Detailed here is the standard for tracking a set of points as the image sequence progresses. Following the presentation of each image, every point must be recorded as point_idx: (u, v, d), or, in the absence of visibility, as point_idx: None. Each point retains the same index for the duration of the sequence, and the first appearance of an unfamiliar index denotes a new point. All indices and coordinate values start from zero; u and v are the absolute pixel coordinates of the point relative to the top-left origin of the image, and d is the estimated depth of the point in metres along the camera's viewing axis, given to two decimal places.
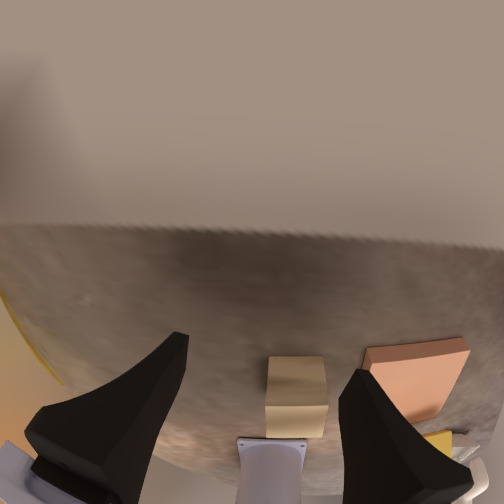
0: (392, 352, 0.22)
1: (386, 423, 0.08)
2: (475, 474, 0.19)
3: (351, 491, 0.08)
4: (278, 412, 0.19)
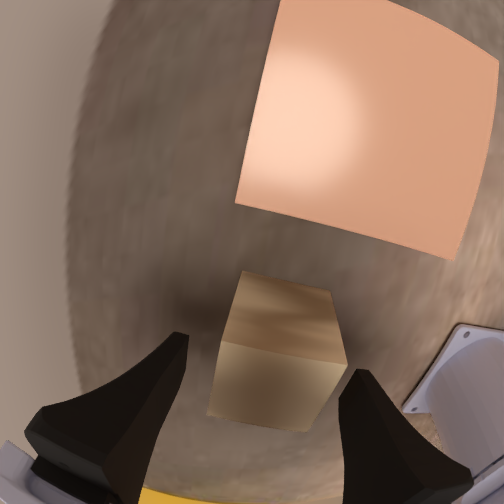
0: None
1: (386, 423, 0.08)
2: None
3: (351, 491, 0.08)
4: (226, 407, 0.11)
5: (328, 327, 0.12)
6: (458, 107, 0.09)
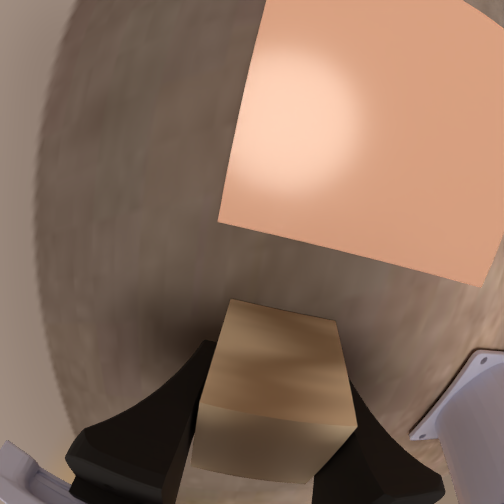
0: None
1: None
2: None
3: (319, 491, 0.08)
4: (212, 462, 0.08)
5: (334, 374, 0.09)
6: (494, 103, 0.06)
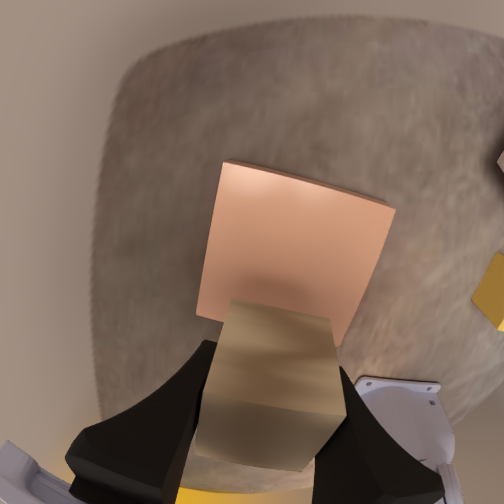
0: None
1: (353, 422, 0.08)
2: None
3: (319, 491, 0.08)
4: (213, 449, 0.09)
5: (326, 368, 0.10)
6: (344, 256, 0.17)
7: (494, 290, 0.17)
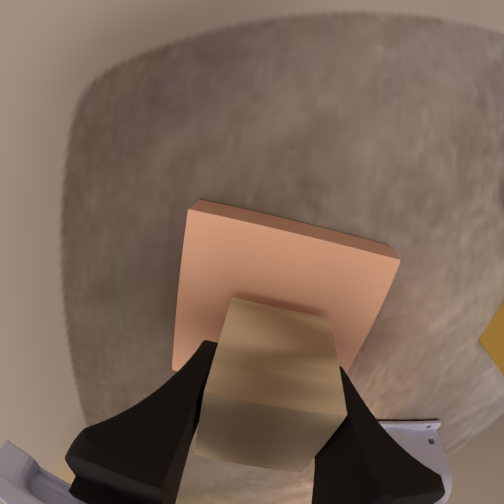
0: None
1: (352, 422, 0.08)
2: None
3: (319, 491, 0.08)
4: (214, 449, 0.09)
5: (327, 367, 0.10)
6: (337, 315, 0.14)
7: None
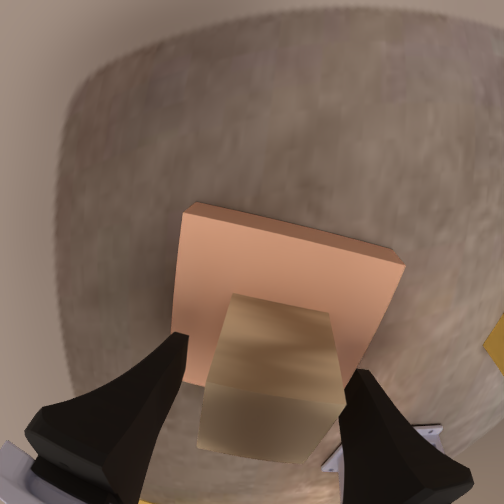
0: None
1: (386, 423, 0.08)
2: None
3: (351, 491, 0.08)
4: (216, 441, 0.10)
5: (326, 359, 0.10)
6: (339, 322, 0.13)
7: None
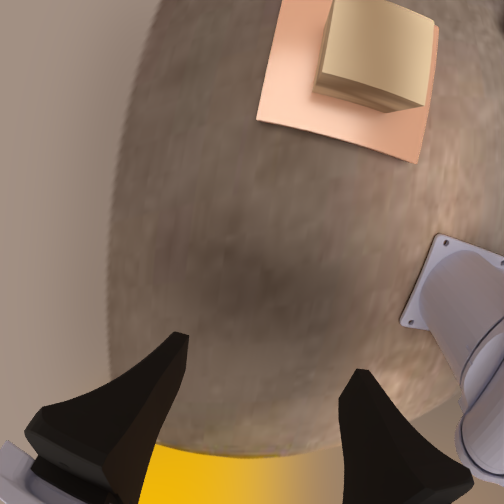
0: None
1: (386, 423, 0.08)
2: None
3: (351, 491, 0.08)
4: (344, 57, 0.09)
5: None
6: None
7: None
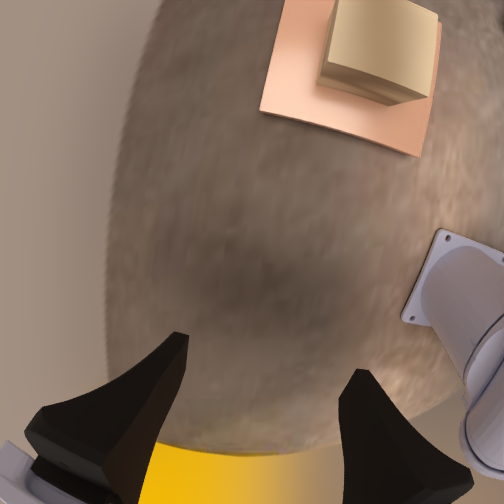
0: None
1: (386, 423, 0.08)
2: None
3: (351, 491, 0.08)
4: (349, 47, 0.09)
5: None
6: None
7: None
